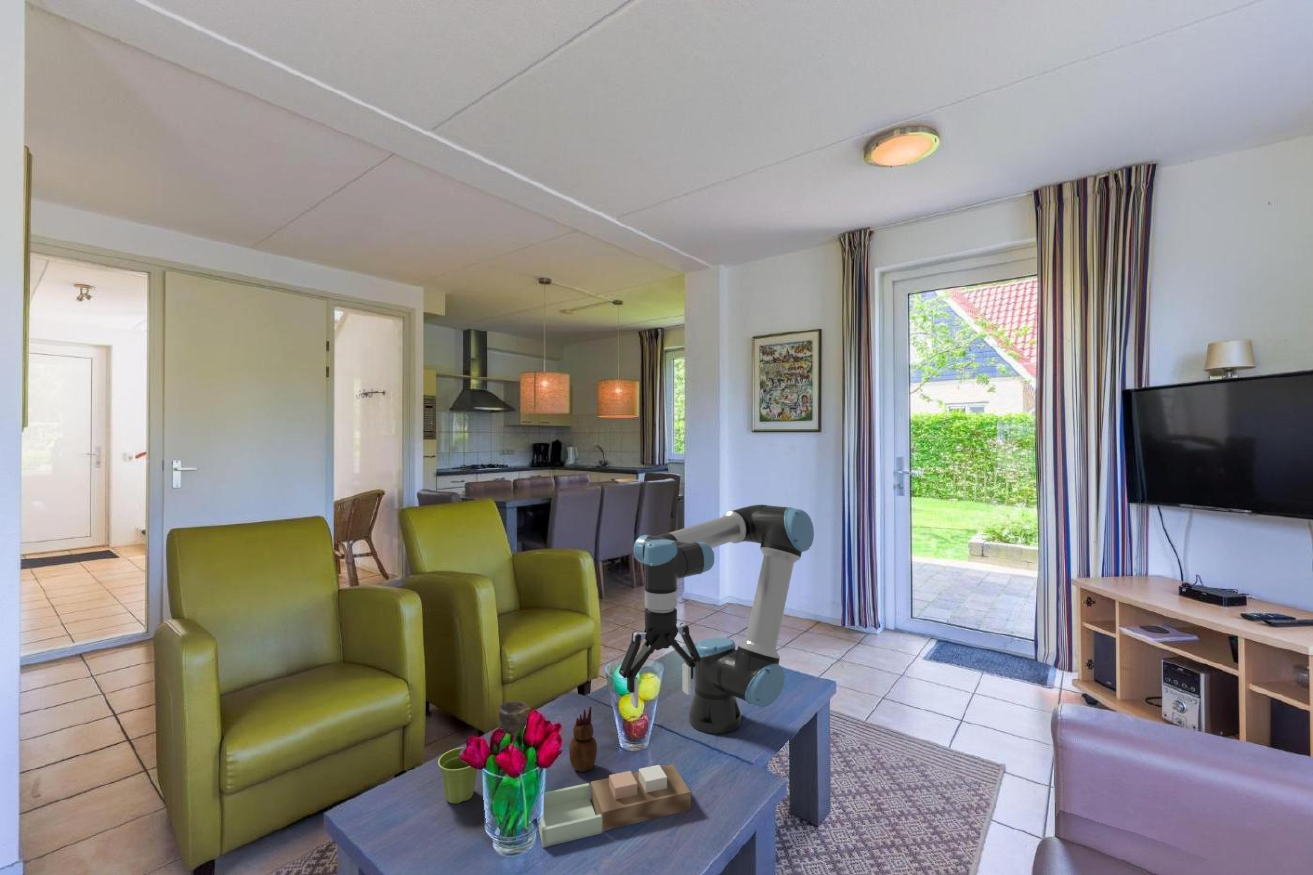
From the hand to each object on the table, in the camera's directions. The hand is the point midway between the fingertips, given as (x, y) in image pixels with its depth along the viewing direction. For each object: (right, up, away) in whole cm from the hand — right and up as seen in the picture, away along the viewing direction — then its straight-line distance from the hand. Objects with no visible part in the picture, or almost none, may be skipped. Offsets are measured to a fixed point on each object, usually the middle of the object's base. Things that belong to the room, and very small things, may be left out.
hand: (661, 699), depth 131 cm
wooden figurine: (-19, -22, +9) cm, 31 cm away
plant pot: (-46, -22, -1) cm, 51 cm away
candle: (-34, -22, 0) cm, 40 cm away
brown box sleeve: (-5, -22, -5) cm, 23 cm away
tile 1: (-9, -18, -6) cm, 20 cm away
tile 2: (-2, -18, -4) cm, 18 cm away
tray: (-20, -22, -10) cm, 31 cm away
